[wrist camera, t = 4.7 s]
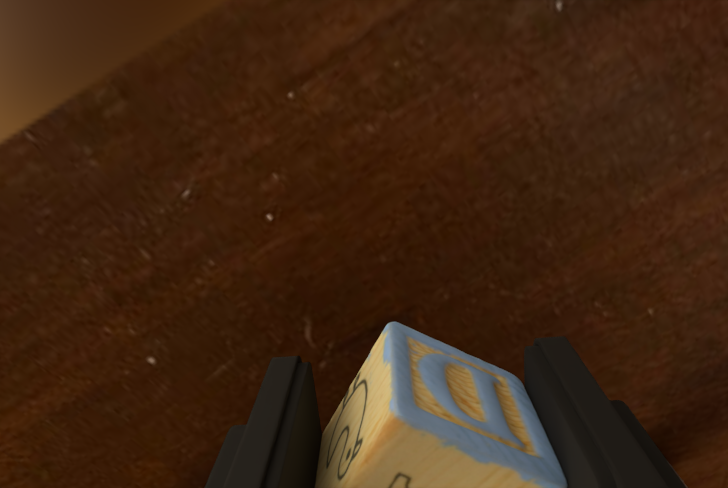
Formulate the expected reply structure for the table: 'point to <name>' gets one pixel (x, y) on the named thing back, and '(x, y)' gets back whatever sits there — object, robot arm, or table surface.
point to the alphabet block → (434, 423)
